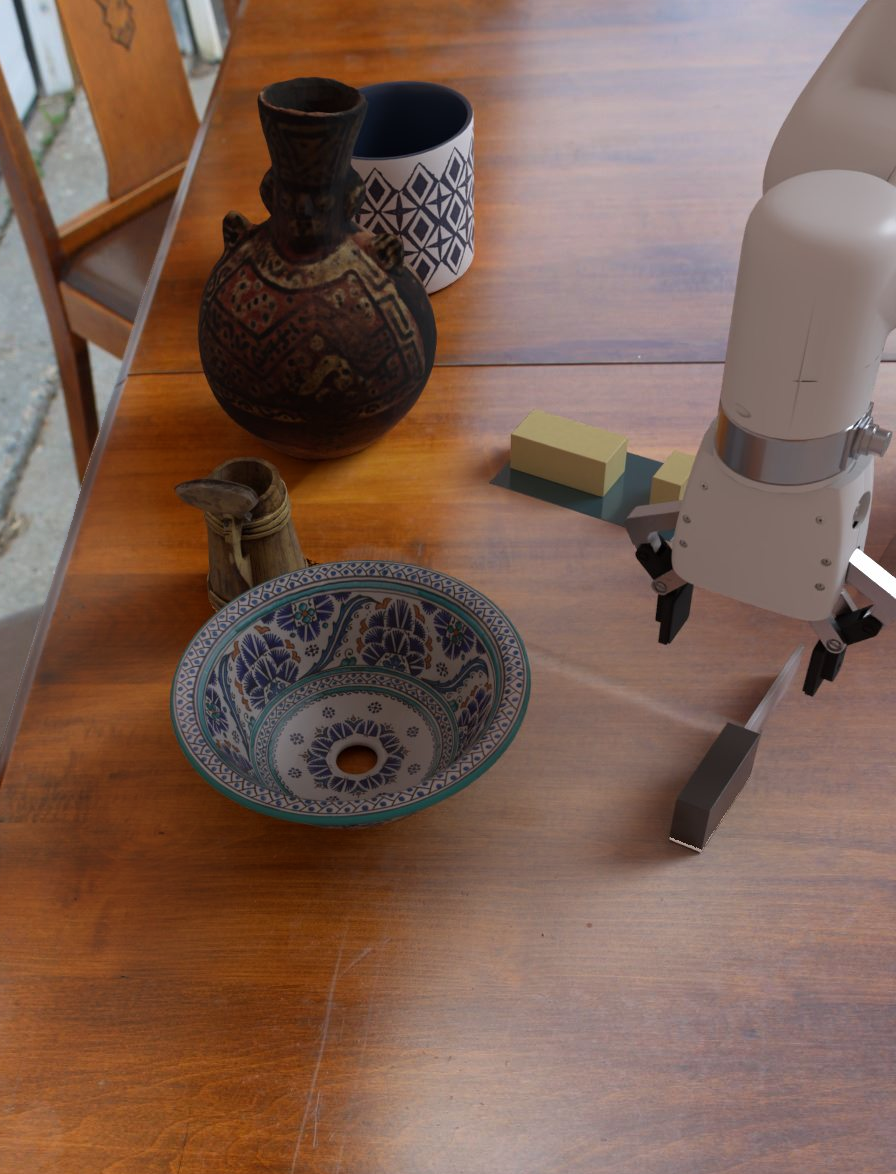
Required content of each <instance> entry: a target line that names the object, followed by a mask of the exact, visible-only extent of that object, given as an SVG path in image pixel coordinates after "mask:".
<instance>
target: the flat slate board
mask: <svg viewBox="0 0 896 1174" xmlns="http://www.w3.org/2000/svg"><path fill="white" fill-rule="evenodd" d="M663 464H664V462H662V461H658V460H655V459H652V458H649V457H645V456H642V455H638V454H635V453H633V452H628V451H627V453H626V463H625V471H624V472H623V474H622V475H621V476H620V477H619V479H618V480H617V481H616V482H615V483H614V485H613V486H612V487H611V488H610V489H609V491H608V492H607V493H606V494H605V495H604V497H600V496H597V495H594V494H590V493H587V492H584V491H581V490H578V489H575V488H572V487H569V486H565V485H562V484H559V483H556V482H553V481H550V480H547V479H543V478H540V477H537V476H534V475H531V474H528V473H525V472H521V471H518V470H515V469H512V468H510V459H509V461H507V463H506V464H505V465H504V466H502V468H501V469H500V470H499V471H498V473H497V474H496V475H495V476H494V477H493V478H492V479H491V480H490V482H489V484H491V485H493V486H497V487H500V488H503V489H506V490H510V491H513V492H516V493H518V494H522V495H524V496H527V497H531V498H535V499H537V500H540V501H543V502H546V503H549V504H553V505H555V506H558V507H561V508H564V509H568V510H570V511H574V512H577V513H580V514H582V515H586V516H589V517H592V518H595V519H598V520H601V521H603V522H608V523H610V524H613V525H617V526H620V527H622V528H626V527H625V525H624V521H625V519H626V518H627V517H628V515H629V514H630V513H631V512H632V510H633V509H634V508H635V507H637V506H643V505H649V503H650V495H651V486H652V478H653V476H654V475H655V474H656V472H657V471H658V470H659V469H660V467H661V466H662V465H663ZM658 534H659V535H661V536H662V537H663V538H664V540H665V541H666V542H669V543H670V542H671V543H672V542H673V540H674V534H675V529H674V530H666V531H658Z"/></svg>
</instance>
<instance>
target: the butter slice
mask: <svg viewBox="0 0 896 1174" xmlns="http://www.w3.org/2000/svg"><path fill="white" fill-rule="evenodd" d="M695 457H696V455H693V454H689V453H686V452H683V451H680V450H676V449H674V450H673V451H672V453H671V454H670V455H669V456H668V457H667V458H666V460H665V461H664V462H663V463H664V464H663V465H662V466H661V467H660V469H659V470H658V471H657V472H656V474H655V475H654V476H653V478H652V486H651V495H650V503H649V505H651V504H658V503H665V502H672V501H679V500H682V499H683V496H684V492H685V489H686V485H687V482H688V479H689V475H690V472H691V469H692V466H693V463H694V460H695Z"/></svg>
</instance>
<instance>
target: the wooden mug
mask: <svg viewBox="0 0 896 1174" xmlns="http://www.w3.org/2000/svg"><path fill="white" fill-rule="evenodd" d="M173 491H174V492H175V495H176V496H177V497H178V498H179V500H180V501H182V502H183V503H185V504H186V505H188V506H191V507H193V508H196V509H199V510H201V511H202V514H203V518H204V521H205V525H206V533H207V549H208V573H207V576H206V585H207V597H208V596H209V598H208V600H209V599H210V601H211V604H212V606H213V607H214V608H215V610H217V611H219V610H220V609H221V608H223V607H224V606H225V605H227V604H228V603H229V602H230V601H232V600H233V599H235V598H236V597H238V596H239V595H241V594H243V593H244V592H246V591H248V590H250V589H251V588H253V587H255V586H257V585H259V584H261V583H263V582H266V581H268V580H270V579H272V578H275V577H278V576H280V575H283V574H285V573H289V572H292V571H295V570H298V569H302V568H306V567H309V564H308V559H307V557H305V555H304V554H303V552H302V549H301V545H300V542H299V538H298V535H297V532H296V531H297V530H296V529H295V525H294V522H293V521H294V520H293V518H292V503H291V499H290V495H289V493H288V489H287V486H286V483H285V481H284V480H283V479H282V478H281V475H280V471H279V469H278V468H277V467H276V466H275V464H273V463H271V462H270V461H268V460H267V459H264V458H261V457H257V456H238V457H232V458H229V459H226V460H224V461H222V462H221V463H220V464H218V465H217V466H216V467H214V468H213V469H212V470H211V471H210V473H209V474H208V475H207V477H202V478H195V479H191V480H186V481H183V482H180V483H178V484H177V485H175V486H174V488H173ZM210 601H209V602H210ZM211 604H210V605H211Z"/></svg>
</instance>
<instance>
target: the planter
mask: <svg viewBox="0 0 896 1174" xmlns="http://www.w3.org/2000/svg"><path fill="white" fill-rule="evenodd" d="M355 89H356V90H358V91H360V93H361V94H363V95H365V96H366V98H367V100H368V102H369V103H368V108H367V112H366V116H365V119H364V121H363V123H362V126H361V129H360V131H359V134H358V137H357V140H356V142H355V145H354V149H353V154H352V159H351V165H352V167H353V169H354V170H356V171H357V172H358V173H359V175H360V176H361V177H362V179H363V181H364V183H365V186H366V198H365V202H364V204H363V206H362V207H361V209H360V210H359V211H358V212H357V213H356V214H355V215H354V217H353V218H352V219H351V220H352V221H354V222H356V223H358V224H359V225H361V226H363V227H365V228H366V229H368V230H369V231H371V232H373V233H374V234H376V235H379V234H383V233H391V234H394V235H396V236H398V237H399V238H400V239H402V242H403V245H404V252H405V255H404V258H405V259H406V260H407V261H408V262H409V264H410V265H411V266H412V267H413V268H414V269H415V271H416V272H417V274H418V275H419V277H420V279H421V280H422V282H423V284H424V286H425V289H426V291H427V294H428V295H430V294H434V293H436V292H438V291H441V290H443V289H444V288H446V287H448V286H450V285H451V284H453V283H455V282H456V281H457V280H459V278H461V277H462V276H464V274H465V273H466V272H467V271H468V270H469V268H470V266H471V264H472V263H473V260H474V257H475V140H474V139H475V136H474V135H475V134H474V133H475V132H474V128H475V127H474V108H473V106H472V104H471V102H470V100H469V99H468V97H466V96H465V95H464V94H462V93H461V92H459V91H457V90H455V89H453V88H451V87H448V86H446V85H443V84H438V83H434V82H427V81H420V80H419V81H417V80H396V81H387V82H381V83H374V84H370V85H365V86H362V87H359V88H355Z"/></svg>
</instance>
